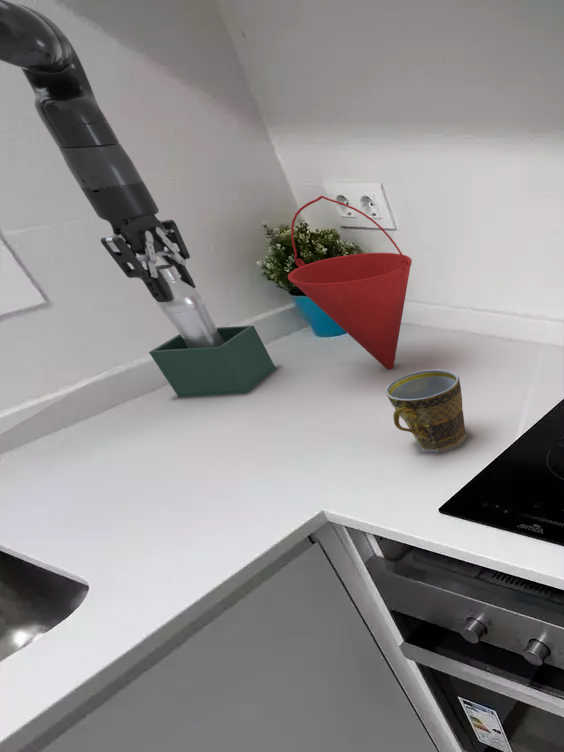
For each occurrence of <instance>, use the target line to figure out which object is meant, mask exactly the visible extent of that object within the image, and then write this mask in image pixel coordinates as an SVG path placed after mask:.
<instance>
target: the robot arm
mask: <svg viewBox="0 0 564 752" xmlns="http://www.w3.org/2000/svg"><path fill="white" fill-rule="evenodd" d="M0 61H1V62H3V63H6V64H9V65H10V66H11V65H12V66H14V67H17V68H20V69H21V71H22V73H23V75H24V76H25V78H26V80H27V82H28V84H29V86H30V87H31V89H32V91H33V93H34V100H33V105H34V109H35V111H36V113H37V115H38V118H39V119H40V120H41V122H42V124H43V125H44V127H45V128H46V130H47V132H48V134H49V135H50V137H51V138H52V140H53V141H54V144H55V145H56V146H57V148H58V150H59V152H60V153H61V156H62V157H63V160H64V162H65V165H66V167H67V168H68V170H69V172H70V173H71V175H72V176H73V178H74V179H75V181H76V183H77V184H78V186H79V188H80V189H81V191H82V192H83V194H84V196H85V198H86V199H87V200H88V202H89V204H90V205H91V207H92V209H93V211H94V212H95V213H96V215H97V216H98V218H100V219H101V220H103V221H106V222H108V223H109V225H110V227H111V229H112V234H113V235H111V236H110V237H109V236H107V237H101V238H100V243H101V245H102V246H103V247H104V248H105V250H106V251H107V252H108V254H109V255H110V256H111V257H112V259H113V260H114V262H115V263H116V265H118V266H119V268H120V269H121V270H122V272H123V273H124V275H125V276H126V277H127V278H130V279H140V280H141V281H142V282H143V283H144V285H145V287H146V288H147V290H148V292H149V293H150V295H151V297H152V298H153V299H154V301H155V302H156V301H158V302H169V301H171V300H172V297H171V295H170V293H169V292H168V290H167V288H166V287H165V285H164V283H163V281H162V280H161V278H160V277H158V274H157V270H156V267H155V266H156V263H157V262H158V259H157V257H159V258H160V259H161V260H162V261H163V262H164V263H165V265H169V264H170V265H174V266H175V267H176V269H177V271H178V273H180V275H181V277H180V279H181V280H182V281H183V282H185V283H187V284H188V285H190V286H191V287H193V288H194V289H196V284H195V282H194V280H193V278H192V276H191V275H190V272H189V271H188V268H187V267H186V265H187V262H186V261H187V260H189V259H190V258H191V254H190V253H189V251H188V247H187V246H186V244H185V241H184V239H183V237H182V234H181V232H180V229H179V228H178V225H177V223H176V222H175V221H174V220H173V219H164V220H163V219H161V220H160V219H158V217H157V216H156V215H157V214H158V213H159V212H160V209H159V207H158V205H157V204H156V201H155V200H154V198H153V196H152V194H151V192H150V190H149V189H148V187H147V185H146V183H145V181H144V180H143V178H142V176H141V173H139V170H138V169H137V167H136V165H135V164H134V161H132V158H131V157H130V156H129V154H128V153H127V151H126V150H125V149H124V147H123V146H122V144H121V143H120V139H118V137H117V135H116V133H115V132H114V130H113V128H112V125H111V124H110V123H109V121H108V119H107V117H106V116H105V114H104V112H103V111H102V109H101V107H100V106H99V103H98V101H97V99H96V97H95V94H94V91H93V88H92V85H91V83H90V81H89V78H88V76H87V73H86V70H85V69H84V66H83V65H82V62H81V60H80V58H79V56H78V54H77V52H76V50H75V48H74V47H73V45H72V43H71V42H70V40H69V38H68V37H67V35H66V33H64V31H63V30H62V29H61V28H60V27H59V26H58V24H56V22H54V21H53V20H52V19H51V18H50V17H48V16H47V15H46V14H44V13H42V11H41V12H40V11H39V10H37V9H35V8H33V7H30V6H27V5H23V4H19V3H15V2H12V1H8V0H0ZM175 244H176V245H175ZM176 246H177V247H176ZM178 250H179V251H178ZM129 264H130V265H131V266H132V267H133V268H131V266H130V265H129ZM143 264H145V267H146V268H145V267H144V265H143Z"/></svg>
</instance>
